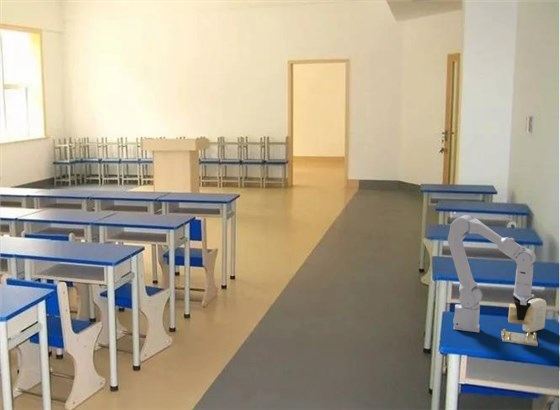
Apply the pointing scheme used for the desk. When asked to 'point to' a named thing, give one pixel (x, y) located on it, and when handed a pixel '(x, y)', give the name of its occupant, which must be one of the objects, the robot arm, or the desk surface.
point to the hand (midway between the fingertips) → (520, 317)
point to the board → (513, 315)
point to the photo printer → (537, 315)
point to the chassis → (519, 338)
